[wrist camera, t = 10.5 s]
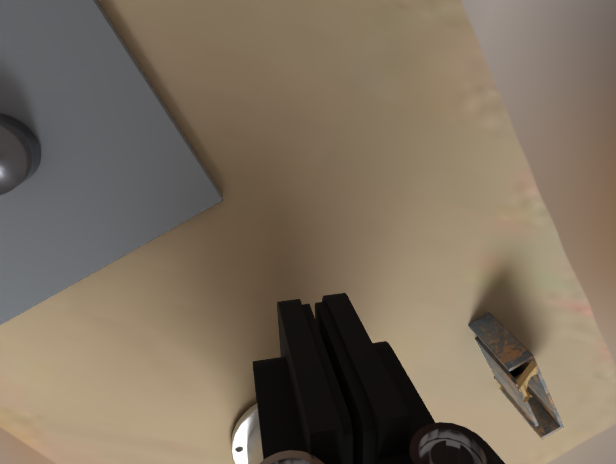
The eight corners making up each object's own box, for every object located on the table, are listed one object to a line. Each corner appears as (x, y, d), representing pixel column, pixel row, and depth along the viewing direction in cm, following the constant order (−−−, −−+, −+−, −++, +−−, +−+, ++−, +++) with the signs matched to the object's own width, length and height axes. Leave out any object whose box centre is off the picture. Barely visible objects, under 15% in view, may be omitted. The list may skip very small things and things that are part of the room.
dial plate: (222, 194, 37) (222, 201, 35) (-5, 322, 37) (-16, 334, 36) (34, -97, 27) (23, -106, 26) (-265, 77, 28) (-296, 79, 26)
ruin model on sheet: (462, 324, 48) (517, 387, 39) (486, 310, 48) (548, 370, 39) (495, 389, 52) (551, 458, 44) (517, 376, 52) (578, 443, 43)
